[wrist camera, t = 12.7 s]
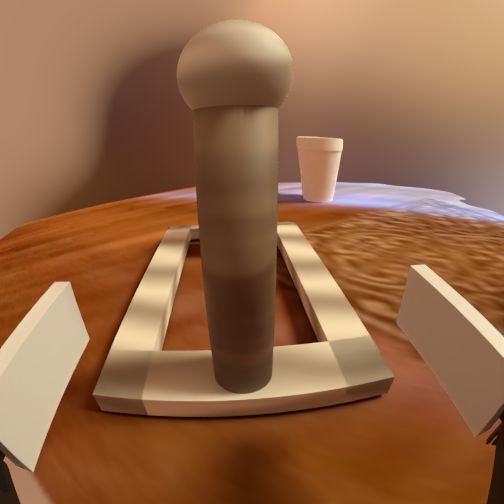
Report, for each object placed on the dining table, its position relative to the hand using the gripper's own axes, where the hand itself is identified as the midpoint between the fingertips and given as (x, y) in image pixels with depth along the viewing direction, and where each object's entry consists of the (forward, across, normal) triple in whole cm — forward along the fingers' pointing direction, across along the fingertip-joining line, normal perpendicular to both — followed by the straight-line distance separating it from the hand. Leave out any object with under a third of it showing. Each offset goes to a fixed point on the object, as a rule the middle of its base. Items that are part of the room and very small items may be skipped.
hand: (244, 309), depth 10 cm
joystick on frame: (+15, 0, -8) cm, 17 cm away
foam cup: (+50, +18, -8) cm, 54 cm away
